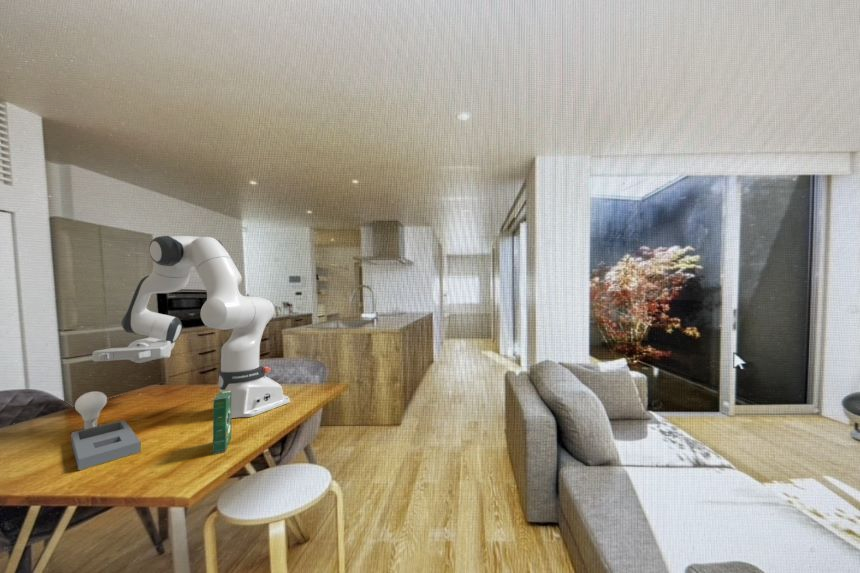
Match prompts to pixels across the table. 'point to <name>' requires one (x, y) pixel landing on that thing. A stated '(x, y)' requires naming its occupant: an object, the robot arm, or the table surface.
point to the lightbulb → (90, 407)
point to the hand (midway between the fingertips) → (119, 356)
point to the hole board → (104, 444)
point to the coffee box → (221, 421)
